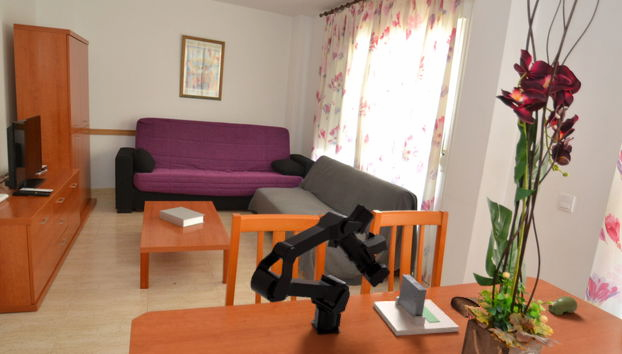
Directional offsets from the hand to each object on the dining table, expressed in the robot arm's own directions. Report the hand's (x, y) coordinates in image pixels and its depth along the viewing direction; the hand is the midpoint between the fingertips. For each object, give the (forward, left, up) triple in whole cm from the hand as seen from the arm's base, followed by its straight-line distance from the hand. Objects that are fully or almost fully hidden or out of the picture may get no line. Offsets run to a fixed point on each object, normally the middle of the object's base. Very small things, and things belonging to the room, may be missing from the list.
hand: (381, 281), depth 120 cm
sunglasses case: (+38, +2, -13) cm, 40 cm away
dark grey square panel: (+10, 0, -10) cm, 14 cm away
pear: (+68, -1, -12) cm, 69 cm away
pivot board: (+12, 0, -12) cm, 17 cm away
